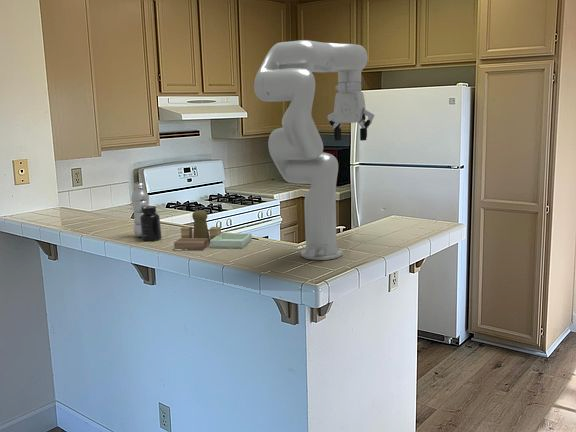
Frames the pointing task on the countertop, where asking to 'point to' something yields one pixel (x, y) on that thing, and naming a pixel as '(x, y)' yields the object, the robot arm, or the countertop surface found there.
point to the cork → (200, 225)
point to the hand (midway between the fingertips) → (350, 140)
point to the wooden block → (191, 243)
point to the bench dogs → (187, 233)
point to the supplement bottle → (150, 224)
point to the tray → (231, 240)
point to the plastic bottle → (139, 205)
